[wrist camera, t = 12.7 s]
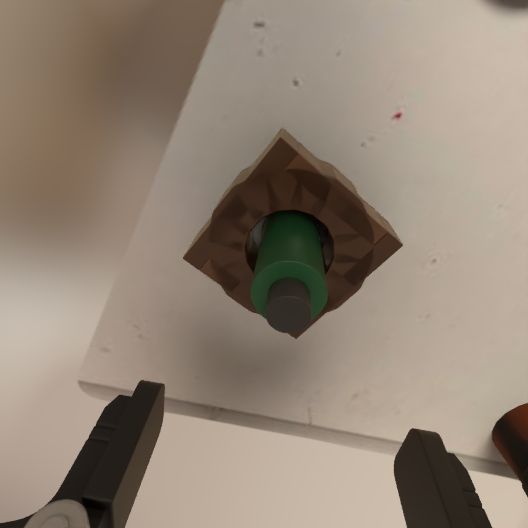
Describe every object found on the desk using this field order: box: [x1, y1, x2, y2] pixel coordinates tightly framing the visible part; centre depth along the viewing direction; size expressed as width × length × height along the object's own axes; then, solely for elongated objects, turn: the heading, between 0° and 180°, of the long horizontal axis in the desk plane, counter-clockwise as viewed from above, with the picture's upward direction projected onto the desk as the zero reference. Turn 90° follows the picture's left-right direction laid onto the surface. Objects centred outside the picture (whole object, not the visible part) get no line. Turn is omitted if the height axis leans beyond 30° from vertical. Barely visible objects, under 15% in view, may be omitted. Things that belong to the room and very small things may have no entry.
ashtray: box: [183, 128, 403, 339], centre depth 25 cm, size 11×11×4 cm
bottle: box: [251, 210, 328, 333], centre depth 22 cm, size 4×4×11 cm
